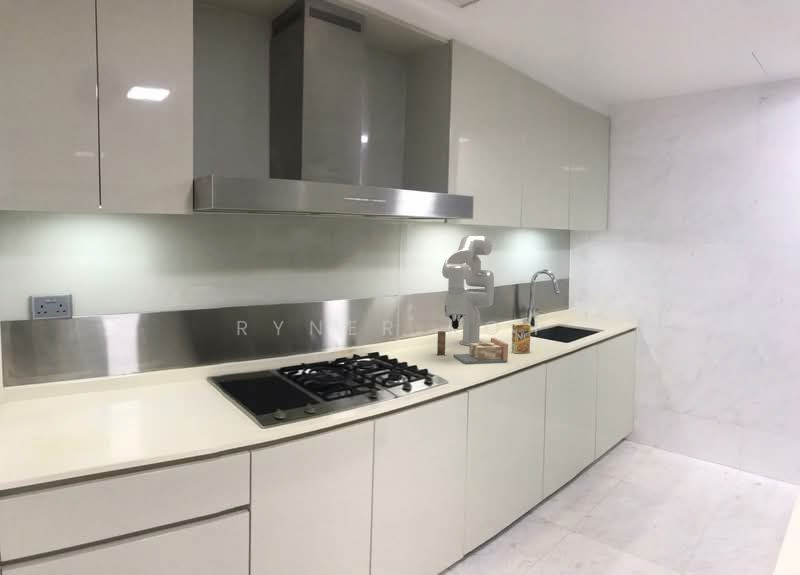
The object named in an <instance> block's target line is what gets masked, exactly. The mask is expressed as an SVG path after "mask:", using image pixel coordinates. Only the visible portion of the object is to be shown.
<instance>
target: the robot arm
mask: <svg viewBox="0 0 800 575" xmlns="http://www.w3.org/2000/svg"><path fill="white" fill-rule="evenodd" d="M492 247H493V246H492V242H491V240H490V239H489V238H488V237H487V236H486V235H476V234H475V235H465V236H463V237H462V238H461V240H460V243H459V246H458V248H457V251H455V252H453V253H451V254H450V255H448V256H447V257H446V259H445V260H444V262H443V263H444V264H443V265H442V270H441V273H442V276H443V278H445V279H448V284H447V285H448V286H447V290H448V291H447V293H446V295H445V299H444V309H443V312H444V317H445V318H449V319H450V320H451V327H452V329H454V330H458V329H459V325H460V324H459V323H460V320H461V319H462V318H463V319H462V339H461V340H459V344H460V345H463V346H467V347H468V346H469V347H470V343H483V341H481V340H480V335H481V334H480V329H481V328H480V327H481V313H480V310H479V309H478V308H477V307H491V306H492V305H493V303H494V296H495V295H494V294H495V293H494V290H495V289H494V288H495V276H494V273H493V272H492V271H491V270H487V269H486V270H484V269H482V260H481V258H480V256H489V255H490V254H491V252H492V249H493V248H492ZM465 284H466V285H467V286H468V287H473V288H465ZM474 287H475V288H474ZM477 287H478V288H477ZM480 288H481V289H480ZM482 288H484V289H482Z"/></svg>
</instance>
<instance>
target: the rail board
mask: <svg viewBox="0 0 800 575" xmlns="http://www.w3.org/2000/svg"><path fill="white" fill-rule="evenodd" d="M490 342H492V343H494V344H496V345H498V346H500V347H502V358H501V359H496V360H477V359H476V358H474V357H472V356H471V355H469V353H459V354H457V353H456V354H453V358H455V359H456V360H458V361H459V362H461V363H462V364H463V365H478V364H479V365H480V364H482V365H483V364H504V363H505V364H507V363H508V359H509V358H508V356H509V344H508V343H507V342H504V341H503V340H501V339H498V338H495V337H490ZM506 362H507V363H506Z"/></svg>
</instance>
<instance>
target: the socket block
mask: <svg viewBox="0 0 800 575" xmlns="http://www.w3.org/2000/svg"><path fill="white" fill-rule="evenodd" d="M468 354H469V355H471V356H472V357H474V358H476V359H477V360H496V359H501V358H502V347H500V346H498V345H496V344H494V343H492V342H491V341H490V342H482V343H470V346H469V353H468Z"/></svg>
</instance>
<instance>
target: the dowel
mask: <svg viewBox="0 0 800 575" xmlns="http://www.w3.org/2000/svg"><path fill="white" fill-rule="evenodd" d="M446 337H447V336H446V331H444V330H443V331H442V330H440V331H439V330H438V331H437V346H436V349H437V351H436V352H437V354H436V355H437V356H439V355H444V356H446Z"/></svg>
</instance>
